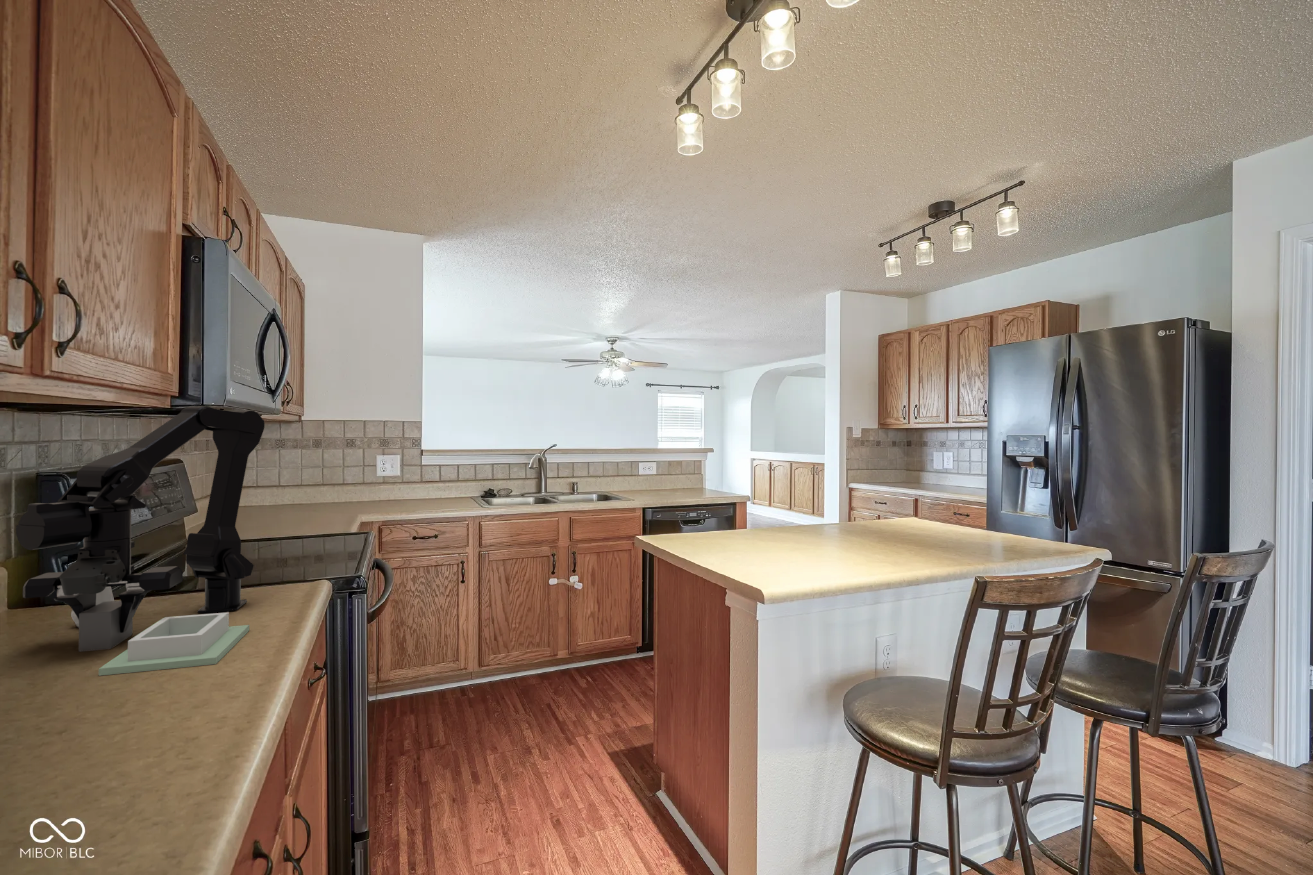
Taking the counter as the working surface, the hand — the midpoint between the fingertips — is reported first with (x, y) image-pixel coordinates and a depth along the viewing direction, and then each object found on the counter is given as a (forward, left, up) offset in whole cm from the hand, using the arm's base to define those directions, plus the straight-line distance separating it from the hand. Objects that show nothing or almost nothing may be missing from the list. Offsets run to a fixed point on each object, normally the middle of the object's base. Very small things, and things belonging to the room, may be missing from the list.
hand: (106, 633), depth 97 cm
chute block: (0, 0, -2) cm, 2 cm away
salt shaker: (-12, -7, -2) cm, 14 cm away
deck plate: (+8, +13, -2) cm, 15 cm away
